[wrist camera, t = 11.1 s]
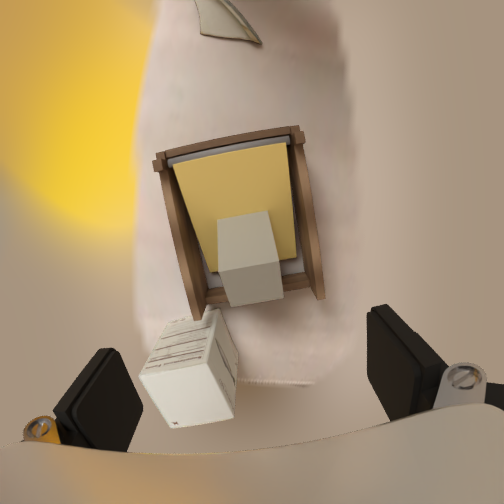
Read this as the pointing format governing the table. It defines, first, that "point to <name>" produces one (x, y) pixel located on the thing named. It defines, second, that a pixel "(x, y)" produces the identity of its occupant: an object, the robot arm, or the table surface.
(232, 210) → the trapdoor
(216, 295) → the trapdoor frame
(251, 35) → the ceramic fragment
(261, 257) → the plain grey carton
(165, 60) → the table surface
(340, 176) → the table surface
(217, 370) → the supplement box
